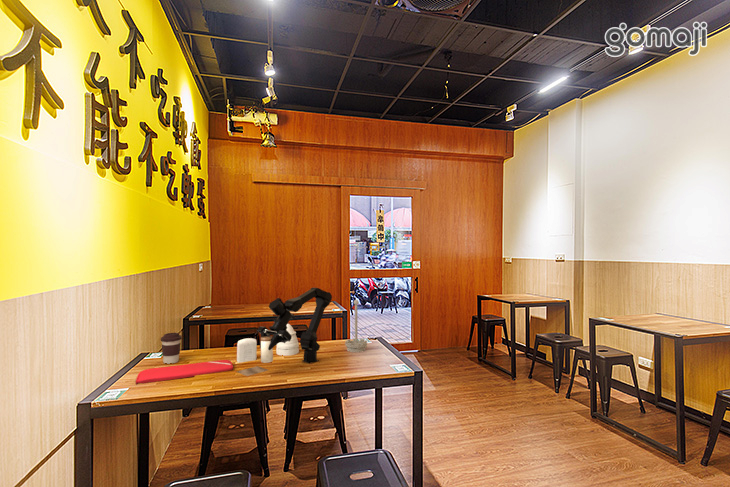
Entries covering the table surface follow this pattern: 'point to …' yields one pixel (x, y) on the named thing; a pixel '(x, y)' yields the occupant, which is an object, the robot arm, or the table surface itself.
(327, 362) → the table surface
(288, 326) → the honey pot
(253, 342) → the photo printer
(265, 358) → the tumbler
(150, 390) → the table surface
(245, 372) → the board
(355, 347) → the flag stand
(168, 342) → the coffee cup
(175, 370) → the dish drying mat
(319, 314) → the robot arm
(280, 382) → the table surface
